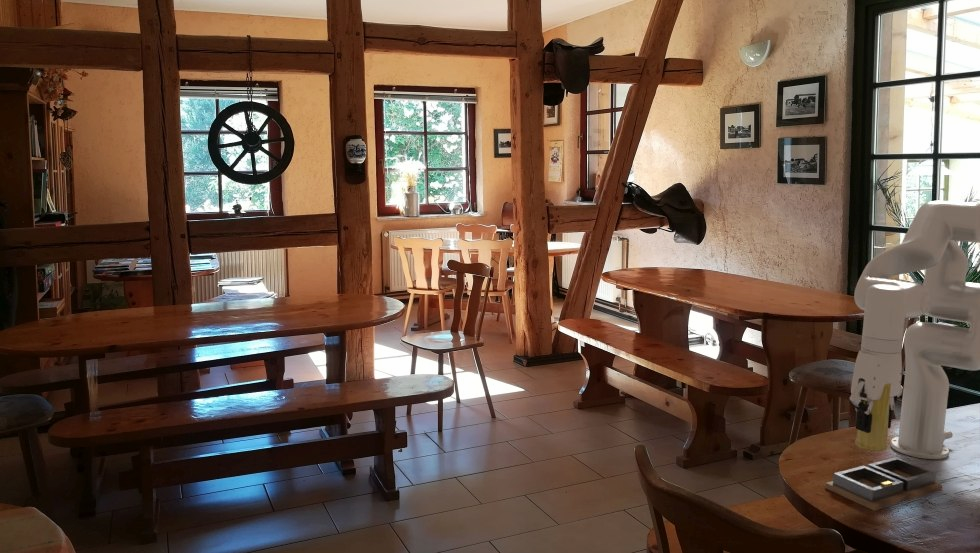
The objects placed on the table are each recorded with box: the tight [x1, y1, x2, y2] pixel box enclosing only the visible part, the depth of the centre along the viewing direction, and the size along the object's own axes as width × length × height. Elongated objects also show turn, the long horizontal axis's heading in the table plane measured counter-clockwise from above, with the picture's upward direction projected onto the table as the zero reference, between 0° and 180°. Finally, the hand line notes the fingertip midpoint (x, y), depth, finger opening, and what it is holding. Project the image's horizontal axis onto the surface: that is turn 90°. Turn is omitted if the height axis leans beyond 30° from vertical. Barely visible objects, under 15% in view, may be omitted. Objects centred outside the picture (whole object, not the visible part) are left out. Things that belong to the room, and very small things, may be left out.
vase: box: [854, 383, 891, 452], centre depth 169 cm, size 6×6×14 cm
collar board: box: [825, 470, 943, 512], centre depth 174 cm, size 22×12×1 cm, turn 118°
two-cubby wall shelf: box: [832, 456, 937, 502], centre depth 174 cm, size 21×10×3 cm, turn 118°
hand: (873, 427), depth 169 cm, fingers closed on vase, 5 cm apart
